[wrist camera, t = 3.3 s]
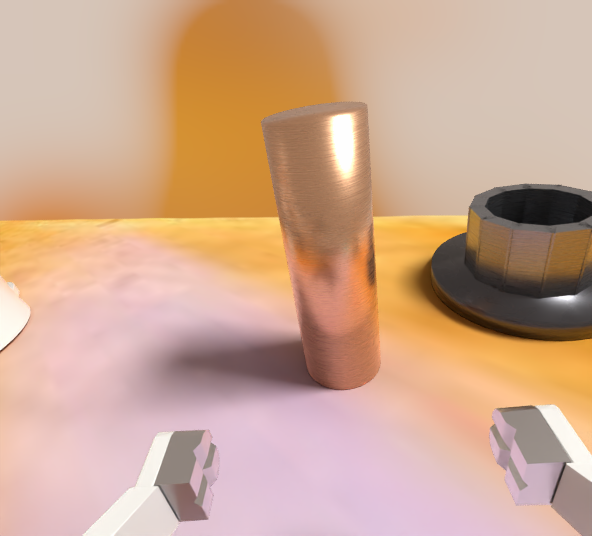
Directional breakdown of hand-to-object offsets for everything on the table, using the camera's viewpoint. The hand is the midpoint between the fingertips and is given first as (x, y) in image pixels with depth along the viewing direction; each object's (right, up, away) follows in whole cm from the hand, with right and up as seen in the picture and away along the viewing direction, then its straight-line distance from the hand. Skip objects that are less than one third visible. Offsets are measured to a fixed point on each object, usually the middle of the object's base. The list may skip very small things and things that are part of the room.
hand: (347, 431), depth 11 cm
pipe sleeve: (+17, +4, +19) cm, 26 cm away
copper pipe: (+2, -2, +15) cm, 15 cm away
